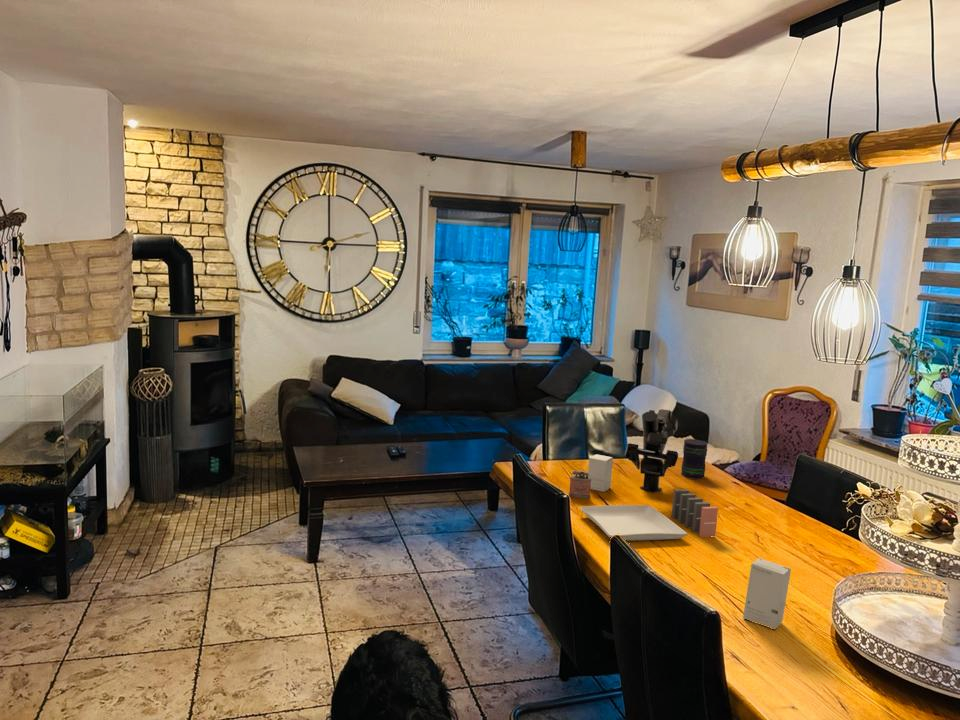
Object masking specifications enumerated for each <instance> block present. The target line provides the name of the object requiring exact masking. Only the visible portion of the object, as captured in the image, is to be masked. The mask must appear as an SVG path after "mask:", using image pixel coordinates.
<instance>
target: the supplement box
mask: <svg viewBox="0 0 960 720" xmlns="http://www.w3.org/2000/svg"><path fill="white" fill-rule="evenodd" d="M613 458H614V457H612V456H606V455H603V454H602V455H601V454H598V453H597V454H593V455H592V456H590V457H588V470H587V472H589V475H588V477H590V478H592V479H591V486H590V490H593V491H598V492H602V493H603V492H607V491H608V490H609V488H610V489H611V486H612V472H613Z"/></svg>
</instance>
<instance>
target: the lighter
mask: <svg viewBox="0 0 960 720" xmlns="http://www.w3.org/2000/svg"><path fill="white" fill-rule="evenodd" d="M588 475H589V472H588V471H584V470H580V471H579V470H572V475H571V476H569V479H570V480H569V491H568V492H569V493H568V497H569V496H570V498H574V497H580V498H579V499H590V498H591V489H590V486H591V479H592V478H590V477H588Z"/></svg>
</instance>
